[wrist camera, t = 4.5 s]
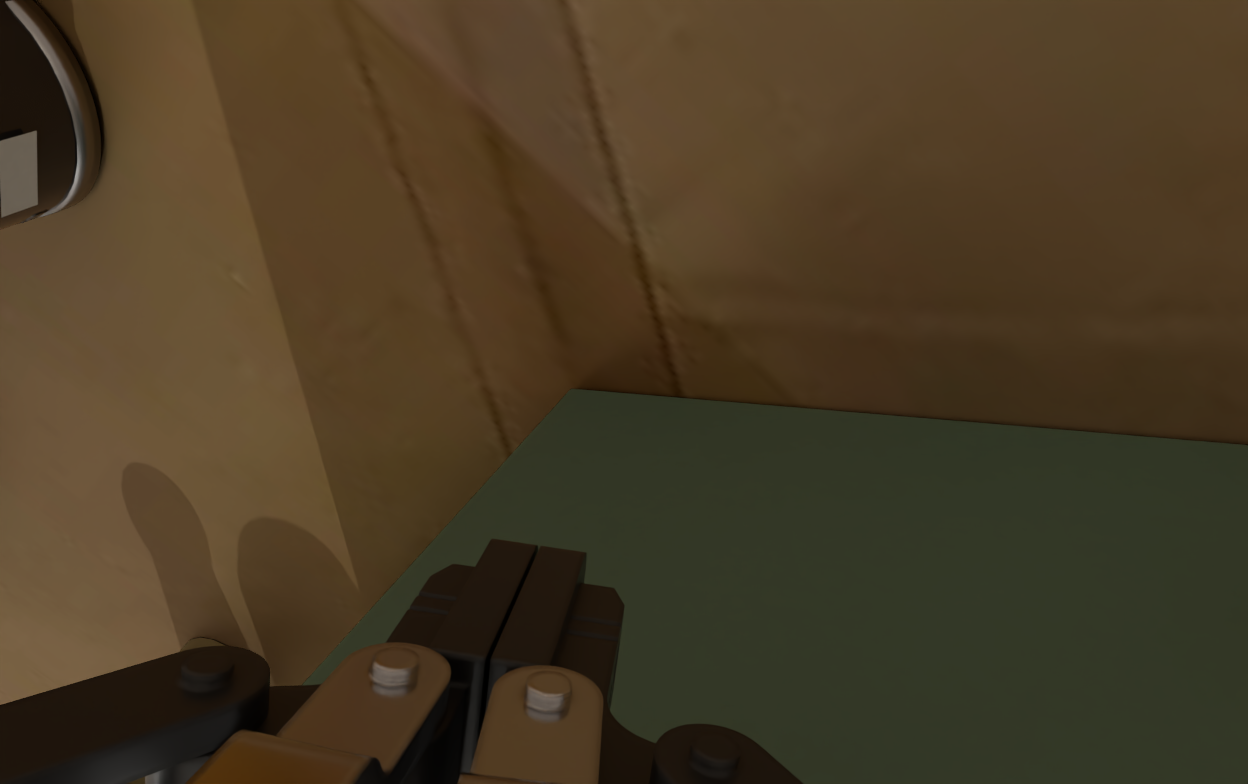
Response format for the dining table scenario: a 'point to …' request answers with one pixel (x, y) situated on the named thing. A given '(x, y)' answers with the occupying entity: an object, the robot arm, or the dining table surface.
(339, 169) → the dining table surface
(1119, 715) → the door
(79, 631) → the dining table surface
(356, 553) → the dining table surface
